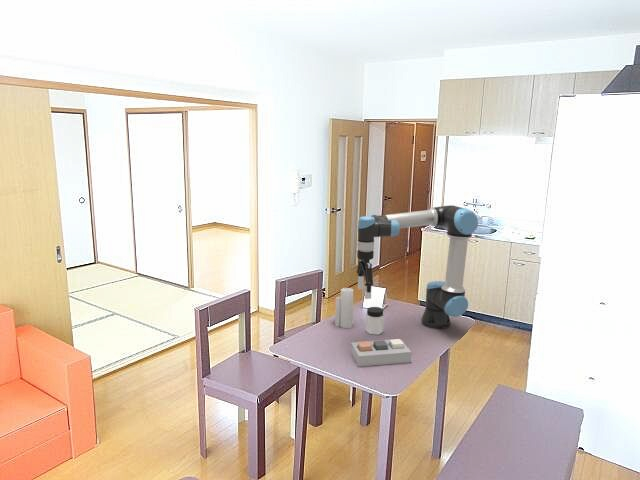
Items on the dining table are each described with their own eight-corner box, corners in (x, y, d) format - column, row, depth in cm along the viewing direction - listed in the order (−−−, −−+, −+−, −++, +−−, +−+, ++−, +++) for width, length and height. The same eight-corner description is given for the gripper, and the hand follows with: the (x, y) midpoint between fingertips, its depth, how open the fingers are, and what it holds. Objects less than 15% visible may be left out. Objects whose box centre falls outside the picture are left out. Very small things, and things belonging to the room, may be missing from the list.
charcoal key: (383, 346, 217) (384, 340, 216) (387, 351, 212) (387, 344, 211) (373, 347, 216) (373, 341, 215) (376, 352, 211) (377, 345, 210)
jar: (363, 329, 245) (363, 307, 243) (377, 327, 249) (377, 305, 246) (371, 336, 237) (372, 313, 235) (385, 333, 241) (386, 311, 238)
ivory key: (399, 345, 218) (399, 339, 218) (403, 349, 213) (403, 343, 213) (389, 345, 217) (389, 339, 217) (392, 350, 212) (393, 344, 212)
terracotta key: (368, 347, 215) (368, 341, 215) (371, 352, 211) (371, 346, 210) (357, 348, 214) (357, 342, 214) (360, 353, 210) (360, 347, 209)
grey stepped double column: (355, 325, 250) (356, 289, 246) (346, 329, 245) (347, 292, 241) (338, 320, 258) (339, 285, 253) (330, 323, 252) (330, 288, 248)
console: (399, 348, 224) (400, 338, 223) (410, 362, 210) (411, 351, 209) (350, 352, 219) (350, 342, 218) (358, 366, 206) (359, 356, 205)
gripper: (351, 244, 230) (350, 285, 235) (364, 257, 206) (363, 303, 210) (366, 243, 231) (365, 285, 236) (381, 256, 207) (379, 302, 212)
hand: (364, 293), depth 223 cm, fingers open, 13 cm apart
